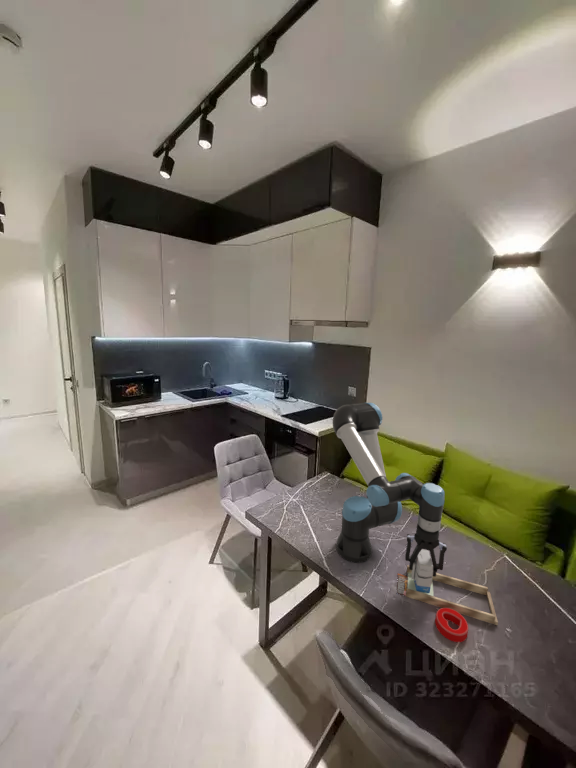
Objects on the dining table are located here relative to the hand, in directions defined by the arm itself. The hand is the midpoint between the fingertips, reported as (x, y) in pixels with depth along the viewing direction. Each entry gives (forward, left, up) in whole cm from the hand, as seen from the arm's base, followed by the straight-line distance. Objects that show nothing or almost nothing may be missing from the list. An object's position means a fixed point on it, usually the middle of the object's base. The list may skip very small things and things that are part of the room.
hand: (421, 579), depth 120 cm
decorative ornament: (+9, -13, -4) cm, 17 cm away
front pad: (0, 0, -4) cm, 4 cm away
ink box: (0, 0, -2) cm, 2 cm away
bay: (+9, 0, -4) cm, 10 cm away
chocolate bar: (-6, -2, -4) cm, 8 cm away
